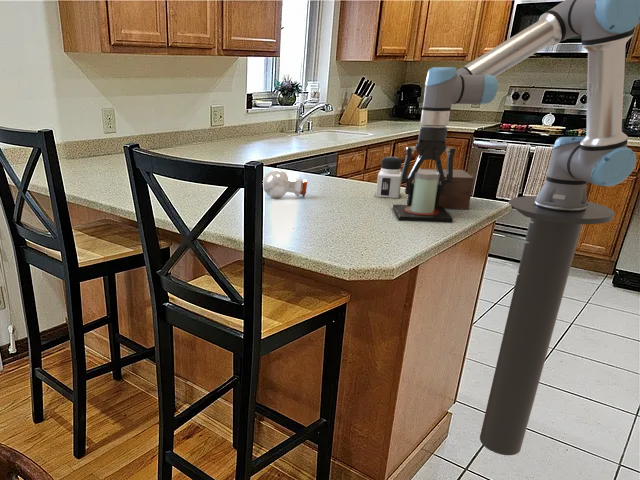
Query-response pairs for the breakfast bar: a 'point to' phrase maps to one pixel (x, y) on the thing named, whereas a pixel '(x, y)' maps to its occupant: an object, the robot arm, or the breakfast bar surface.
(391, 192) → the container
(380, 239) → the breakfast bar surface
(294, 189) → the potion bottle
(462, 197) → the brown box
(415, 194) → the jar
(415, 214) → the hob plate
